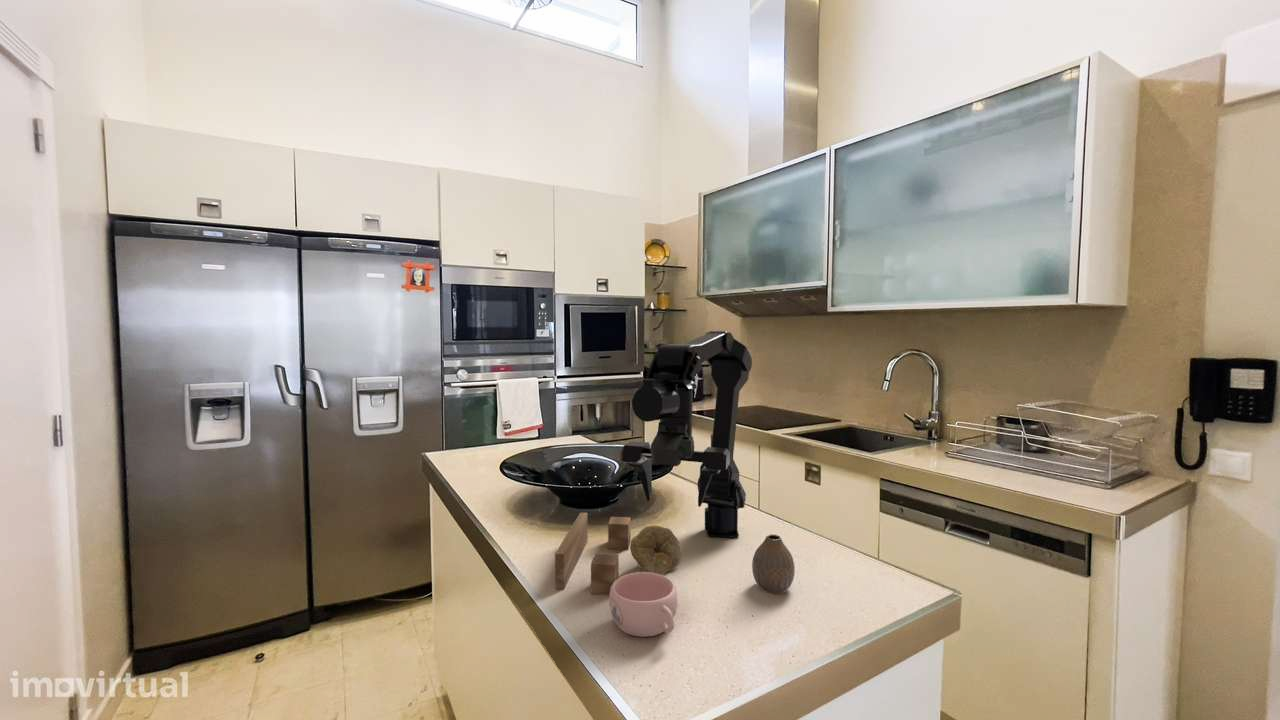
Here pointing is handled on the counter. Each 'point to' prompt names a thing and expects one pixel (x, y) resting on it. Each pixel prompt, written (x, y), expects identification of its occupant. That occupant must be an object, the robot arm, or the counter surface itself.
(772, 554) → the vase
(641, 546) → the fossil
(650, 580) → the mug
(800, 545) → the counter surface
